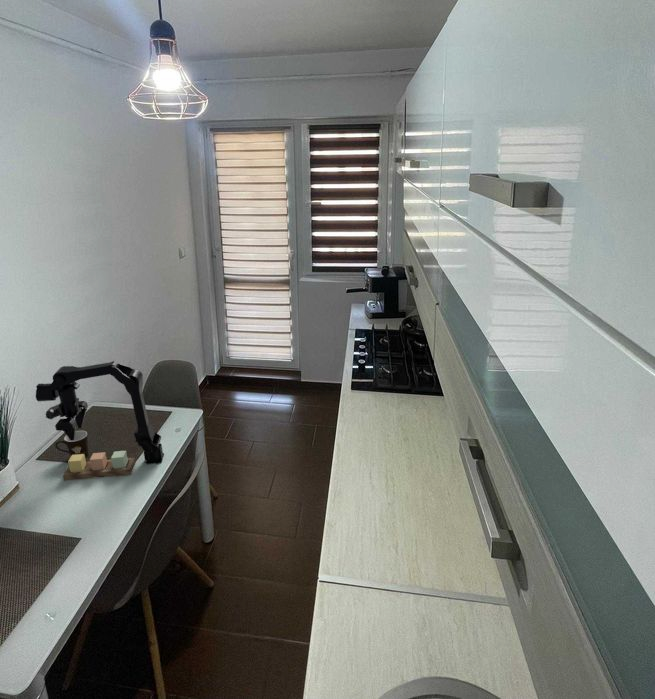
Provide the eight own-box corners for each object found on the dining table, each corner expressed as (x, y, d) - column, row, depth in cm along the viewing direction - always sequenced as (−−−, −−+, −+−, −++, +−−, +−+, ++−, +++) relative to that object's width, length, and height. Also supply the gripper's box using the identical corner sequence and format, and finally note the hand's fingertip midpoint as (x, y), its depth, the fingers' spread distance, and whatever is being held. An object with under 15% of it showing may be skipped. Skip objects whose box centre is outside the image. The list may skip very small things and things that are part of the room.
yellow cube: (86, 464, 197) (84, 453, 195) (82, 471, 193) (80, 460, 191) (74, 465, 196) (72, 454, 195) (70, 472, 192) (67, 461, 190)
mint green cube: (128, 461, 199) (126, 450, 197) (125, 467, 195) (123, 457, 193) (116, 462, 198) (114, 451, 196) (113, 468, 194) (111, 458, 192)
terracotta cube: (107, 462, 198) (105, 452, 196) (104, 469, 194) (101, 458, 192) (95, 463, 197) (93, 453, 196) (92, 470, 193) (89, 459, 191)
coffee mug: (95, 451, 210) (91, 431, 206) (84, 463, 202) (79, 442, 198) (69, 450, 211) (65, 429, 207) (57, 461, 203) (52, 440, 199)
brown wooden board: (135, 462, 202) (134, 457, 201) (130, 474, 194) (129, 469, 193) (71, 467, 199) (70, 462, 198) (63, 480, 191) (62, 475, 190)
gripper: (55, 389, 197) (63, 423, 203) (36, 412, 180) (45, 448, 185) (84, 387, 198) (91, 421, 204) (68, 409, 181) (76, 446, 187)
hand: (76, 433), depth 195 cm, fingers open, 9 cm apart
